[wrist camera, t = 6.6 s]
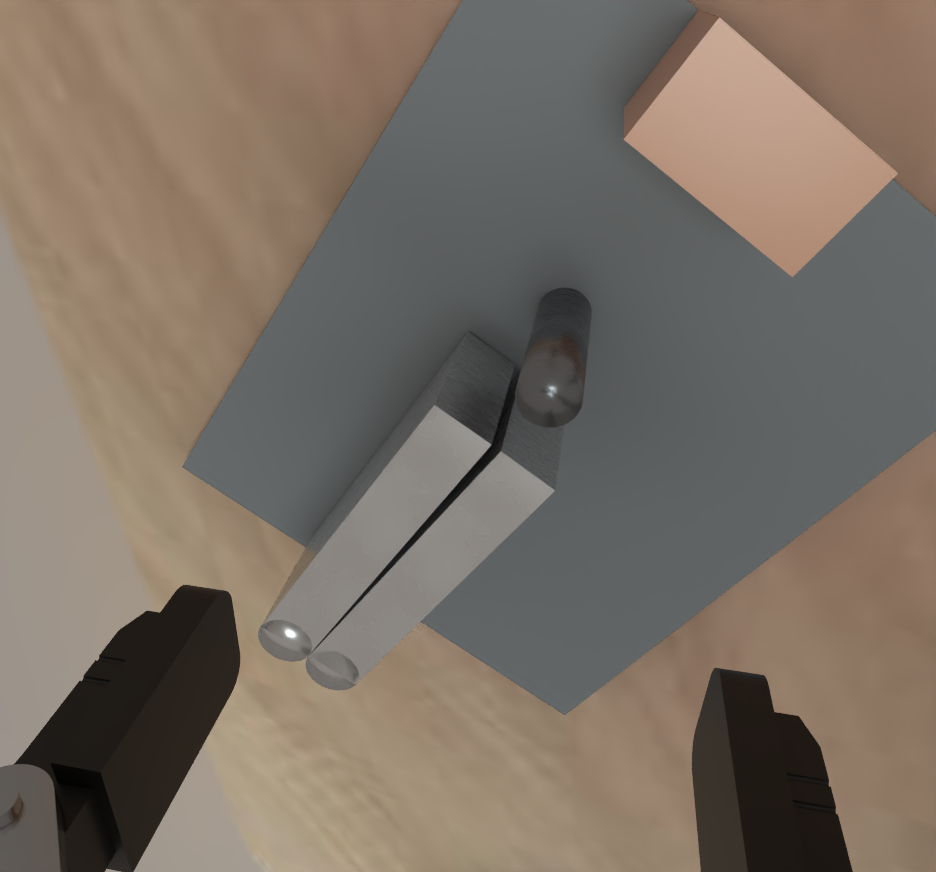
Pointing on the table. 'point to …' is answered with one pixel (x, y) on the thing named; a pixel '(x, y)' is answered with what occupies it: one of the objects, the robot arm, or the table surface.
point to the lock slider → (751, 144)
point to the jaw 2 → (444, 547)
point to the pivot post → (555, 360)
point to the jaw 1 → (391, 497)
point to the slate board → (609, 352)
